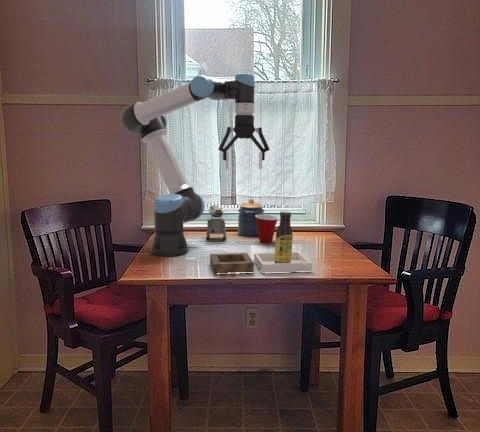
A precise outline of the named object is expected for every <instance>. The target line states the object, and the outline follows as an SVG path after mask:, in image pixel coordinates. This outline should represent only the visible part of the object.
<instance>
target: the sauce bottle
mask: <svg viewBox="0 0 480 432" xmlns="http://www.w3.org/2000/svg"><path fill="white" fill-rule="evenodd" d="M279 216H280V219H279V225H278V226H277V228H276V230H275V231H276V232H275V244H274V252H275V255H274V260H275V261H274V263H275V264H276V263H290V262H291V253H292V252H293V237H294V235H293V230H292V229H293V228H292V226H291V217H292V212H291V211H280V213H279Z"/></svg>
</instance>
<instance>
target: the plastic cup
mask: <svg viewBox="0 0 480 432" xmlns="http://www.w3.org/2000/svg"><path fill="white" fill-rule="evenodd" d="M255 217H256V221H257V228H258V235H259V236H258V241H259V242H260V243H262V244H270V243H273V239H274V236H275V231H276V230H275V229H276V226H277V222H278V220H280V219H279V217H278V216H276V215H270V214H263V215H255Z"/></svg>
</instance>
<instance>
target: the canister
mask: <svg viewBox="0 0 480 432" xmlns="http://www.w3.org/2000/svg"><path fill="white" fill-rule="evenodd" d="M263 207H264V205H263V204H261V203H260V202H257V201H255V199H254V198H249V199H248V201H245V202H242V203H241V204H240V205H239V209H237V212H238V216H237V219H238V221H237V232H238V233H237V234H238V235H239V236H243V237H259V235H258V228H257V221H256V217H255V215H264V213H265V209H263Z"/></svg>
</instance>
